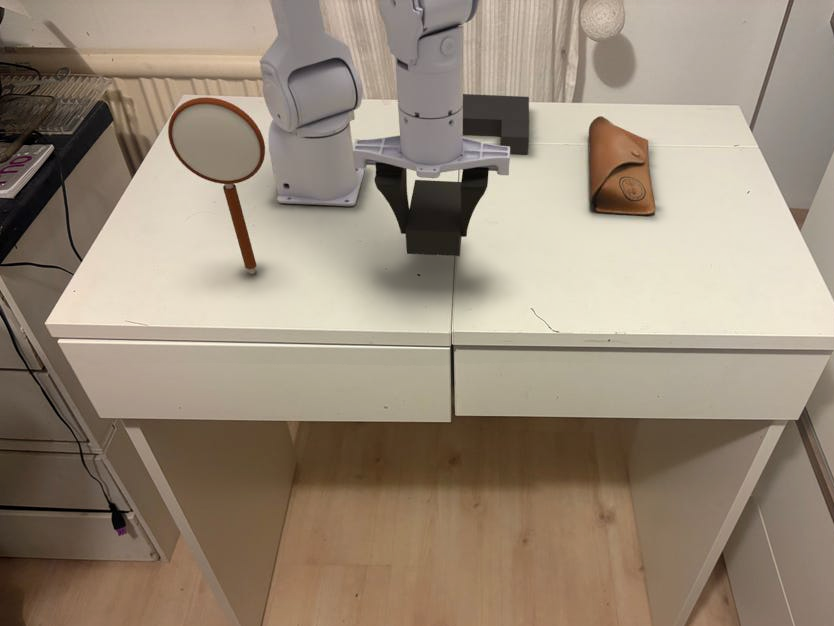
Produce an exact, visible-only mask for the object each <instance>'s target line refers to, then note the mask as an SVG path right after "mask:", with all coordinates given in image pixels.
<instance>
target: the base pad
mask: <svg viewBox="0 0 834 626" xmlns="http://www.w3.org/2000/svg"><path fill="white" fill-rule="evenodd" d="M463 135H465V136H487V137H500V146H509V147H510V155H528V154H529V143H530V142H529V141H530V97H529V96H521V95H520V96H519V95H496V94H495V95H493V94H474V93H473V94H472V93H470V94H469V93H463Z"/></svg>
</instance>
